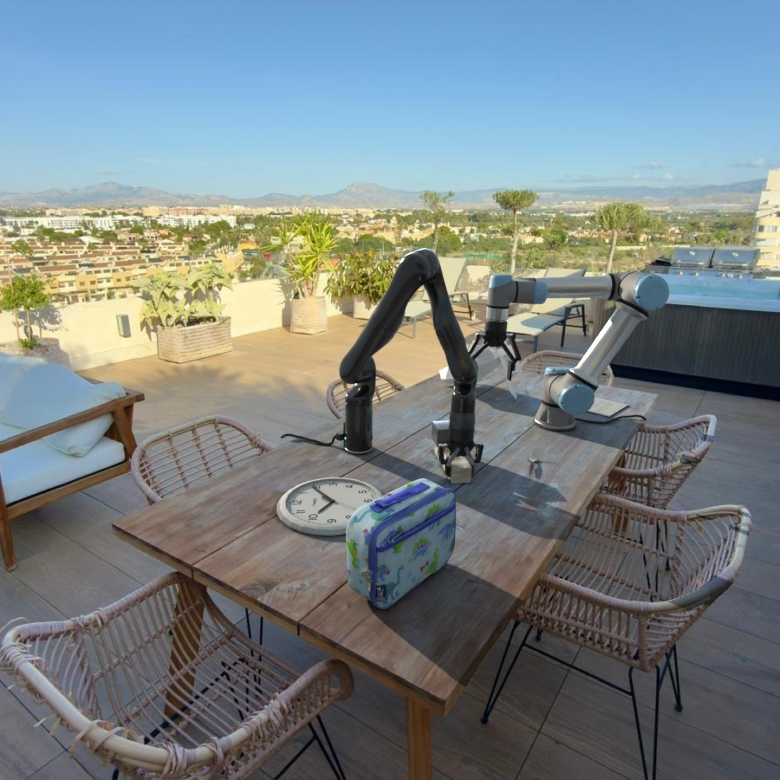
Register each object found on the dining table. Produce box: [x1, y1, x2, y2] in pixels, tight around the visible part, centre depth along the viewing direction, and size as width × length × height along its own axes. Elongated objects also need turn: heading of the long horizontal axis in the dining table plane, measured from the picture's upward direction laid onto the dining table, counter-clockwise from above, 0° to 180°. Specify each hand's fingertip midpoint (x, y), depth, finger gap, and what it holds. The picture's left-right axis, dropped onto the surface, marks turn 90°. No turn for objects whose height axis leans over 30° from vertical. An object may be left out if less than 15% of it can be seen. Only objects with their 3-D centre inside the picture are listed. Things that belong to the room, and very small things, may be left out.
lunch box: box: [345, 477, 457, 610], centre depth 110 cm, size 26×11×21 cm, turn 134°
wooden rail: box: [433, 442, 473, 485], centre depth 167 cm, size 24×6×5 cm, turn 8°
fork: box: [529, 450, 539, 475], centre depth 168 cm, size 3×16×2 cm, turn 160°
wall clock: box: [276, 476, 385, 537], centre depth 142 cm, size 30×2×30 cm
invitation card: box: [587, 396, 629, 418], centre depth 226 cm, size 21×1×15 cm
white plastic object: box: [438, 339, 531, 400], centre depth 245 cm, size 37×45×31 cm
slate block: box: [430, 420, 449, 447], centre depth 173 cm, size 8×8×6 cm
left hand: (458, 475), depth 159 cm, fingers closed on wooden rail, 6 cm apart
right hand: (490, 379), depth 185 cm, fingers open, 13 cm apart
